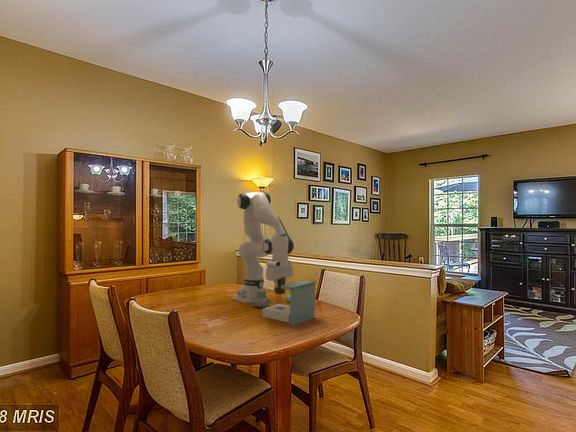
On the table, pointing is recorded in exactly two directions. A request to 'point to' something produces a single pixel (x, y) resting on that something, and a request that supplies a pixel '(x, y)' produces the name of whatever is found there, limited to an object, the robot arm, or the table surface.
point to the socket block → (277, 312)
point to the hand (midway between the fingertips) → (280, 286)
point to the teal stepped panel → (301, 301)
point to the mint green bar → (288, 297)
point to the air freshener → (261, 299)
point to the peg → (280, 286)
